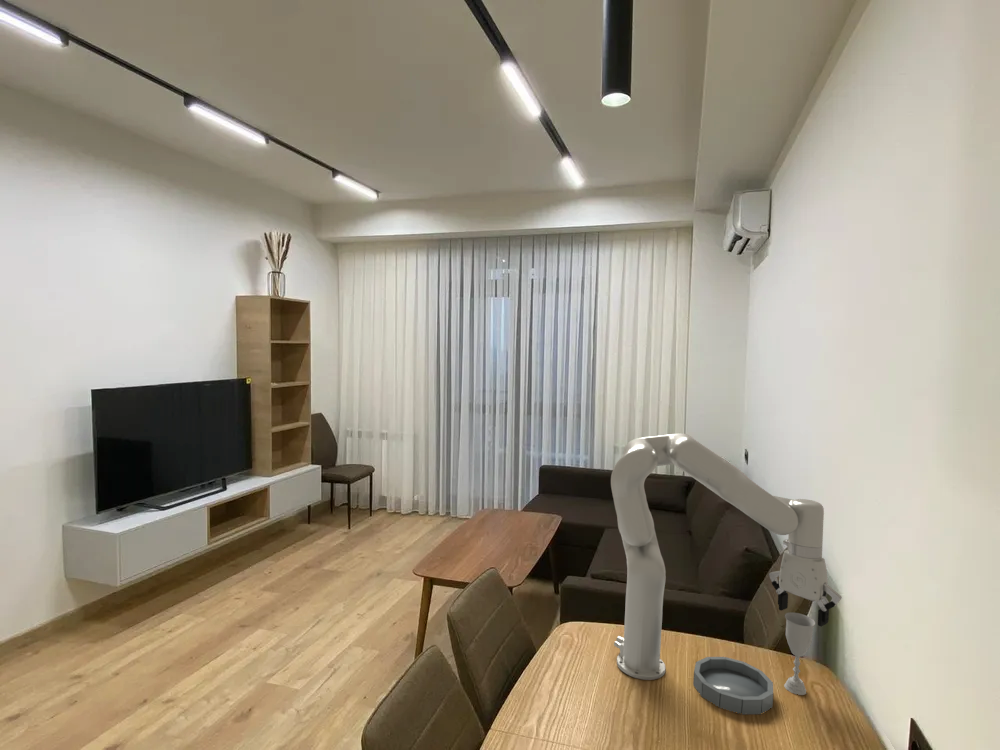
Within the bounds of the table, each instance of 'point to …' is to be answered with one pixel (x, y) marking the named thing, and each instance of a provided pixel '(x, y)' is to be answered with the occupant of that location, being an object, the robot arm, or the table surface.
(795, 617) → the chalice
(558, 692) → the table surface
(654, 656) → the robot arm
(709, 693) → the bowl
